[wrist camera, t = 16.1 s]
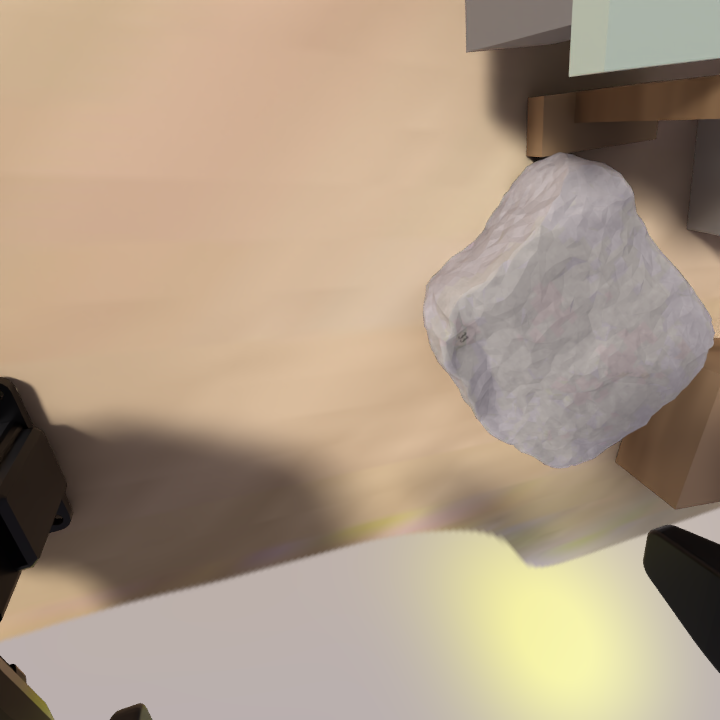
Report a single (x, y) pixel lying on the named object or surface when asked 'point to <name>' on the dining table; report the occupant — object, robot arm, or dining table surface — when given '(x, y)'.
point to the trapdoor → (600, 30)
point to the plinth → (681, 443)
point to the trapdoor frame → (616, 114)
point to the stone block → (566, 315)
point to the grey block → (706, 179)
